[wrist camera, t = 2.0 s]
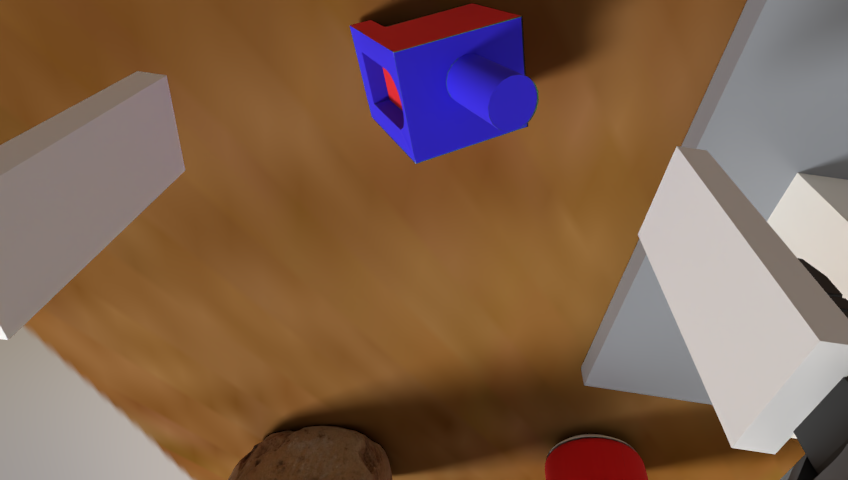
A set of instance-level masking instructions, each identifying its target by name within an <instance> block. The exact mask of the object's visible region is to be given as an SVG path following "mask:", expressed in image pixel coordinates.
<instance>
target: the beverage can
mask: <svg viewBox="0 0 848 480" xmlns="http://www.w3.org/2000/svg"><path fill="white" fill-rule="evenodd" d="M545 475H546V480H648V477H647V473H646V470H645V466H644V463H643V460H642V459H641V457H640V456H639V455H638V453H637V452H636V451H635V449H634V448H633V447H631V446H630V445H629V444H627V443H626V442H624V441H622V440H619V439H617V438H613V437H610V436H605V435H600V434H582V435H577V436H573V437H570V438H568V439H565V440H563V441H561V442H560V443H558V444H556V445H555V446H554V447H553V448H552V449H551V450H550V452H549V453H548V455H547V459H546V463H545Z"/></svg>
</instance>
